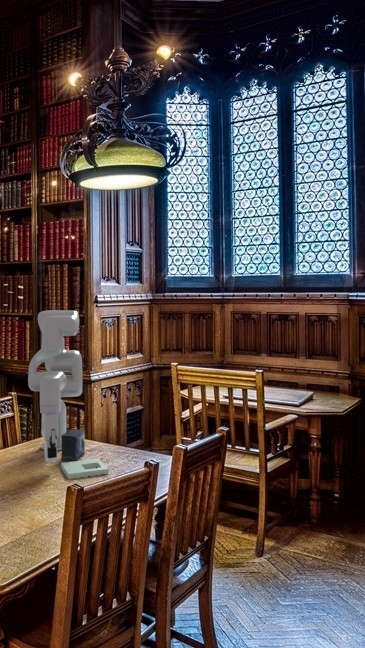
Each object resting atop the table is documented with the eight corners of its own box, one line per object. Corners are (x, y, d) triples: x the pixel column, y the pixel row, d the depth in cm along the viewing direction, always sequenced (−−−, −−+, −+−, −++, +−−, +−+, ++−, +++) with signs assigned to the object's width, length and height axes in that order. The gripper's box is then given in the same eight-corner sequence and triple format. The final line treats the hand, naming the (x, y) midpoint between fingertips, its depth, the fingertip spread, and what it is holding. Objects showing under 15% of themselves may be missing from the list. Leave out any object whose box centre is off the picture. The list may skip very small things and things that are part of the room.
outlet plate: (61, 468, 215) (60, 463, 215) (98, 463, 221) (98, 458, 221) (68, 479, 202) (68, 474, 202) (108, 474, 208) (108, 468, 208)
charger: (44, 458, 211) (44, 433, 210) (55, 457, 213) (55, 432, 212) (46, 462, 207) (46, 436, 206) (57, 460, 209) (56, 434, 208)
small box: (75, 461, 223) (75, 436, 222) (60, 460, 224) (60, 435, 224) (85, 454, 233) (85, 429, 233) (71, 453, 235) (70, 428, 234)
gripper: (36, 404, 214) (37, 450, 216) (44, 414, 199) (44, 464, 201) (56, 402, 217) (56, 448, 219) (64, 412, 202) (65, 461, 204)
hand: (51, 455), depth 210 cm, fingers closed on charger, 4 cm apart
